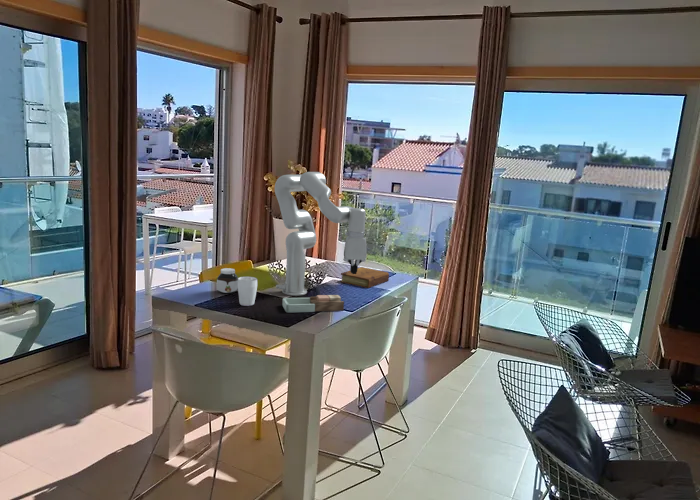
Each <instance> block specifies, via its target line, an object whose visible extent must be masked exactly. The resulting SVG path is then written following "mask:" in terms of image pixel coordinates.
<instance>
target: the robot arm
mask: <svg viewBox="0 0 700 500" xmlns="http://www.w3.org/2000/svg"><path fill="white" fill-rule="evenodd" d="M275 181H276V182H275V183H274V184H275V185H274V194H275V197H276V199H277V202H278V205H279V210H280V213H281V218H282V221H283V224H284V227H285V228H286V229H288V230H296V229H298V230H297V231H291V232H290V233H288V234H287V236H286V238H285V251H286V268H285V282H283V284H275V288H276V289H279V290H281V291H282V293H283V294H284V295H288V296H296V297H297V296H304V295H306V294H307V293H308V291H307V289H306V288H305V277H306V276H305V275H306V253H305V251H304V250H306V249H312V248H314V247H315V246H316V244H317V234H316V230H315V229H316V228H315V226H314V222H313V219H312V216H311V214H310V213H309V211H307V210H306V209H299V208H298V206H297V201H296V199H295V198H294V196H293V194H292V193H293V192H307V193H308V194H309V195H310V196H311V197H313V199H314V200H315V201H316V202H317V205H318V208H319V211H320V212H321V213H322V215H323V216H325V218H327V219H328V221H330V222H332V223H333V224H340V223H341V224H342V223H348V228H347V229H348V230H347V231H346V232H345V233H344V235H345V236H347V237H346V238H345V243H344V246H343V248H344V249H343V258H342V259H343V261H344V262H346V263H349V265H350V270H349V271H350V272H351V273H352V274H356V272H357V269H358V268H359V266H360V264H361V263H363V262H366V261H367V260H366V259H367V256H368V254H367V252H368V251H367V250H368V249H367V239H366V237H365V231H366V230H365V229H366V227H365V226H366V216H367V215H366V214H367V213H366V210H365V209H364V208H358V207H357V208H356V207H353V206H350V205H344V206H343V205H342V206H337V205H335V204H334V203H333V202H332V201H331V200H330V197H331V195H332V190H331V188H329V186H327V185H326V184H327V179H326V176H325V175H324V174H323V173H322V172H320V171H307V172H306V171H305V172H304V173H302V174H283V175H281V176H279V177H278V178H277V179H276V180H275ZM291 192H292V193H291Z"/></svg>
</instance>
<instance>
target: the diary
mask: <svg viewBox="0 0 700 500" xmlns="http://www.w3.org/2000/svg"><path fill="white" fill-rule="evenodd" d="M340 275H341V280H340V283H343V284H348V285H351V284H352V285H351V286H357V287H360V286H361V287H360V288H365V289H370V288H372V287H375V286H379V285H381V284H383V283H386V282H389V280H390V279H389V278H390V274H389V272H388V271H383V270H377V269H373V268H367V267H358V269H357V272H356V274H352V273H351V272H350V270H347V271H344V272H341V273H340Z"/></svg>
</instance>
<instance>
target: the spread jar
mask: <svg viewBox="0 0 700 500" xmlns="http://www.w3.org/2000/svg"><path fill="white" fill-rule="evenodd" d="M238 278H239V277H238V275H237V274H236V270H235V268H232V267H231V268H230V267H229V268H227V267H225V268H221V269H220V274H218V276H217V278H216V289H217V292H218V293H220V294H221V295H226V294H229V295H234V294H235V293H236V292H238Z"/></svg>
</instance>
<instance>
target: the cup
mask: <svg viewBox="0 0 700 500" xmlns="http://www.w3.org/2000/svg"><path fill="white" fill-rule="evenodd" d="M257 289H258V278H257V277H254V276H240V277H238V290H237V293H238V300H239V304H240V305H241V306H243V307H244V306H245V307H251V306H253V305H255V300H256V297H257Z"/></svg>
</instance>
